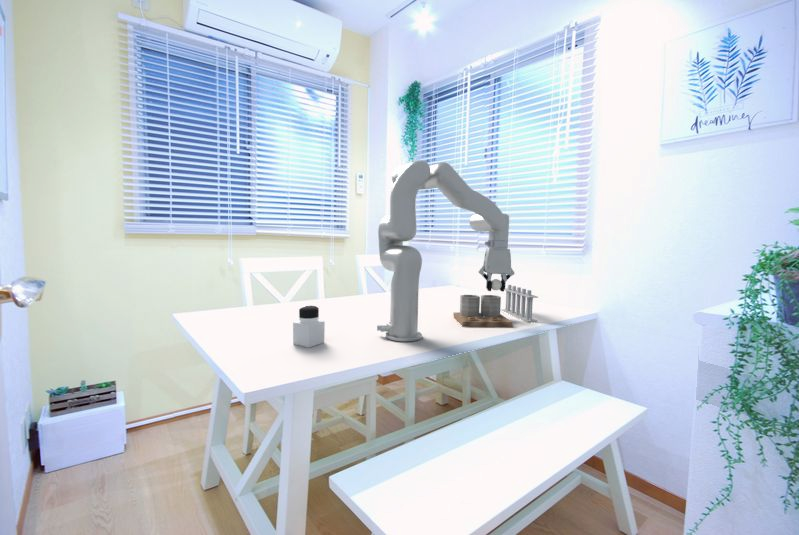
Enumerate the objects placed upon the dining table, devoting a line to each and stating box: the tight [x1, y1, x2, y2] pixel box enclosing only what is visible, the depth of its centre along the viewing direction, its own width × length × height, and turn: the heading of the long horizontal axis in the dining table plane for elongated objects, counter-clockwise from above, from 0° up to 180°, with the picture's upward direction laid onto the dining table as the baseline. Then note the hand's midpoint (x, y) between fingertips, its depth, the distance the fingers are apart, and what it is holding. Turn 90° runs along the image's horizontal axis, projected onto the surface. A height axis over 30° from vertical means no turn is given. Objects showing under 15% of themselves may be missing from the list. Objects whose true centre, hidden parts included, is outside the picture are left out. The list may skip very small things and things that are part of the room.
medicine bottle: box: [292, 305, 326, 348], centre depth 120 cm, size 7×7×12 cm
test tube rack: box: [501, 284, 539, 324], centre depth 168 cm, size 25×4×13 cm, turn 11°
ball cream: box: [491, 278, 502, 291], centre depth 150 cm, size 4×4×4 cm
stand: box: [452, 294, 514, 328], centre depth 156 cm, size 20×18×10 cm
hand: (495, 290), depth 150 cm, fingers closed on ball cream, 4 cm apart
